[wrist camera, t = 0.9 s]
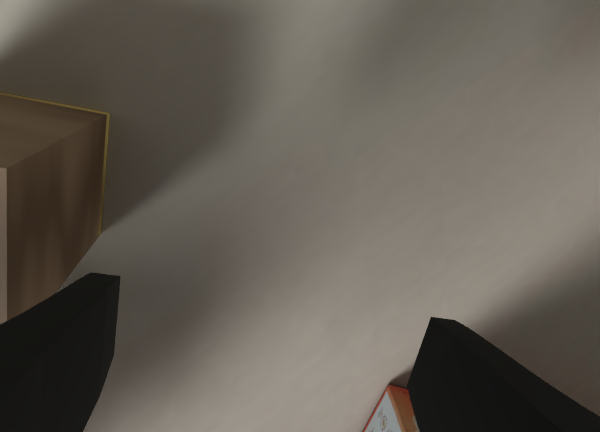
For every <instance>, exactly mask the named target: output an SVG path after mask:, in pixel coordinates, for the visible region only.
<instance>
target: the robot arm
mask: <svg viewBox="0 0 600 432" xmlns="http://www.w3.org/2000/svg"><path fill="white" fill-rule="evenodd" d="M119 288H120V276H114V275H106V274H98V273H89V274H87V275H85V276H84V277H82V278H80V279H79V280H77V281H75V282H74V283H72V284H70V285H69V286H67V287H65V288H64V289H62V290H60V291H59V292H57V293H55V294H54V295H52V296H50V297H49V298H47V299H45V300H44V301H42V302H40V303H38V304H37V305H35V306H33V307H32V308H30V309H28V310H26V311H25V312H23V313H21V314H19V315H17V316H15V317H13V318H12V319H10V320H8V321H6V322H4V323H2V324H0V432H83V430H84V428H85V426H86V424H87V422H88V420H89V417H90V415H91V413H92V411H93V409H94V407H95V405H96V403H97V401H98V399H99V397H100V394H101V391H102V388H103V385H104V382H105V380H106V377H107V374H108V371H109V368H110V365H111V362H112V359H113V356H114V346H115V335H116V323H117V311H118V299H119ZM407 387H408V391H409V396H410V400H411V404H412V408H413V412H414V415H415V419H416V422H417V426H418V428H419V431H420V432H600V417H599V416H598V415H596V414H594V413H593V412H591V411H589V410H588V409H586V408H585V407H583V406H581V405H580V404H578V403H577V402H575V401H574V400H572V399H571V398H569V397H568V396H566V395H565V394H563V393H561V392H560V391H558V390H557V389H555V388H554V387H552V386H551V385H549V384H548V383H546V382H545V381H543V380H542V379H541V378H539V377H538V376H536V375H535V374H533V373H532V372H530V371H529V370H528V369H526V368H525V367H523V366H522V365H521V364H519V363H518V362H516V361H515V360H514V359H512V358H511V357H509V356H508V355H507V354H505V353H504V352H502V351H501V350H499V349H498V348H497V347H495V346H494V345H492V344H491V343H490V342H488V341H487V340H485V339H484V338H483V337H481V336H480V335H478V334H477V333H475V332H474V331H472V330H471V329H469V328H468V327H466V326H464V325H463V324H461V323H459V322H457V321H455V320H450V319H443V318H435V317H431V319H430V321H429V324H428V327H427V330H426V333H425V336H424V338H423V341H422V344H421V347H420V350H419V353H418V356H417V358H416V361H415V364H414V367H413V370H412V373H411V375H410V378H409V381H408V384H407Z"/></svg>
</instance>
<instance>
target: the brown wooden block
mask: <svg viewBox="0 0 600 432" xmlns="http://www.w3.org/2000/svg"><path fill="white" fill-rule="evenodd" d="M109 118H110V113H107V112H101V111H96V110H91V109H86V108H80V107H75V106H70V105H64V104H59V103H54V102H49V101H43V100H38V99H33V98H27V97H22V96H17V95H11V94H6V93H1V92H0V324H2V323H4V322H6V321H8V320H10V319H12V318H13V317H15V316H17V315H19V314H21V313H23V312H25V311H26V310H28V309H30V308H32V307H33V306H35V305H37V304H38V303H40V302H42V301H44V300H45V299H47V298H49V297H50V296H52V295H54V294H55V293H56V292H57V290H58V289H59V288H60V286H61V285H62V284H63V282H64V281H65V280H66V278H67V277H68V276H69V275H70V273H71V272H72V271H73V269H74V268H75V267H76V265H77V264H78V263H79V261H80V260H81V259H82V258H83V256H84V255H85V254H86V252H87V251H88V250H89V248H90V247H91V246H92V244H93V243H94V242H95V241H96V239H97V238H98V237H99V235H100V234H101V229H102V215H103V201H104V187H105V174H106V160H107V146H108V132H109Z"/></svg>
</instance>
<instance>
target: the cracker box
mask: <svg viewBox="0 0 600 432" xmlns="http://www.w3.org/2000/svg"><path fill="white" fill-rule="evenodd" d="M363 432H420V431H419V428H418V426H417V422H416V419H415V415H414V412H413V408H412V404H411V400H410V396H409V391H408V389H405V388H400V387H397V386H393V385H388V386H387V388H386V390H385V392H384V393H383V395H382V397H381V399H380V401H379V403H378V404H377V406H376V408H375V410H374V412H373V414H372V415H371V417H370V419H369V421H368V423H367V424H366V426H365V428H364V430H363Z"/></svg>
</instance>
